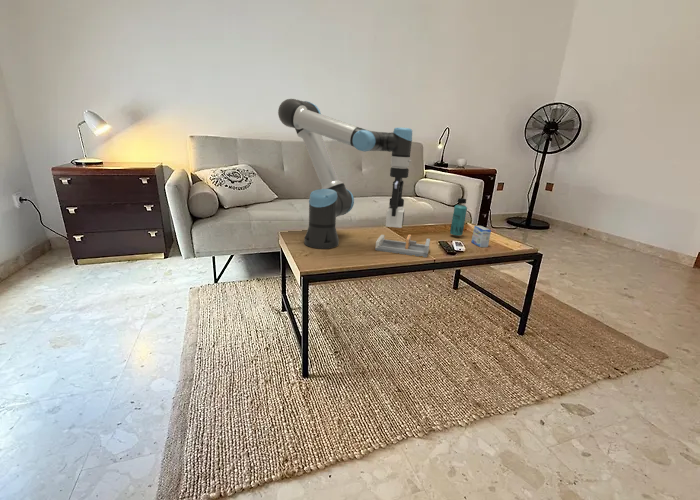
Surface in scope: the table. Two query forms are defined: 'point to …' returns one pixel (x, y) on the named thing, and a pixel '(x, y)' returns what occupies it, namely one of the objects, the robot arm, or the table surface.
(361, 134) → the robot arm
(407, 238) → the pusher
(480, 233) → the medicine box
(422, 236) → the table surface
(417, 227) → the table surface
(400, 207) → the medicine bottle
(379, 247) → the lane
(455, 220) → the beverage bottle
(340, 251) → the table surface
